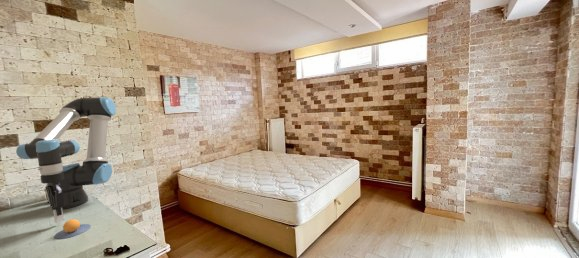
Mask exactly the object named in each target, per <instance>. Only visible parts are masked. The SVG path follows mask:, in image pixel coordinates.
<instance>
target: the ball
mask: <svg viewBox="0 0 579 258" xmlns="http://www.w3.org/2000/svg"><path fill="white" fill-rule="evenodd" d="M80 225H81V223H80V221H79V220H78V219H74V218H73V219H69V220H67V221H66V222H64V224H63V225H62V230H64V231H65V232H67V233H71V232H74V231H76V230H77V229H78V228H79V226H80Z"/></svg>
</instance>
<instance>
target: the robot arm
mask: <svg viewBox="0 0 579 258" xmlns="http://www.w3.org/2000/svg"><path fill="white" fill-rule="evenodd" d="M116 113H117V107H116V103H115V102H114V100H113V99H112V98H110V97H106V96H100V97H78V98H77V99H74V100H72V101H70V102H69V103H67V104H65V105H64V106H63V107H62V108H61V109H60V110H59V113H58V115H56V117H55V118H54V119H52V120H51V122H49V124H47V125H46V127H45V128H43V129H42V130H41V132H39V133H38V134H37V135H36V136H35V137H34V138H33V139H32V140H31V141H29V143H22V144H20V145H18V146H17V147H16V149H15V152H16V155H17V157H18V158H19V159H22V160H34V159H37V161H38V168H37V171H39V173H40V176H39V177H40V182H41V184H45V185H46V184H47V185H48V186H47V187H46V186H45V190H46V195H47V194H48V198H49V202H50V203H49V207H51V209H52V213H53V218H54V223H56V224H57V223H60V222H63V221H64V212H63V210H66V209H71V208H75V207H78V206H81V205H84V204H85V203H87V202H89V196H88V194H87V193H86V190H85V189H84V186H92V185H101V184H105V183H107V182H108V181H109V180H110V178H112V174H113V168H112V165H111V164H110V163H109V161H108V160H107V159H106V150H107V137H108V136H107V135H108V125H109V121H111V120H112V116H115V115H116ZM84 117H87V119H88V120H89V130H88V140H87V151H86V159H84V160H82V165H81V164H80V163H79V162H75V163H70V164H67V165H66V164H65V165H63V162H62V161H63V160H62V158H65V157H69V156H73V155H75V154H77V153H78V152H80V147H81V146H80V144H79V142H77V141H76V140H72V139H71V140H64V141H59V139H60V138H61V136H63V135H64V133H65V132H66V131H67V130H68V129H69V128H70V126H71V125H72V124H73V123H74V122H76V121H79V120H80V119H81V118H84ZM48 198H47V199H48Z"/></svg>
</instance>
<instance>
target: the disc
mask: <svg viewBox="0 0 579 258" xmlns="http://www.w3.org/2000/svg"><path fill="white" fill-rule="evenodd" d="M91 226H92V225H91V224H89V223H80V226H79V228H78V229H77V230H76V231H74V232H71V233H67V232H65V231H64V230H63V229H62V230H60V231H58V232H57V233H56V234H54V236H53V238H54V239H56V240H64V239H69V238H73V237H75V236H78V235H81V234H83V233H85V232H87V231H88V230H89V229H91Z"/></svg>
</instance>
